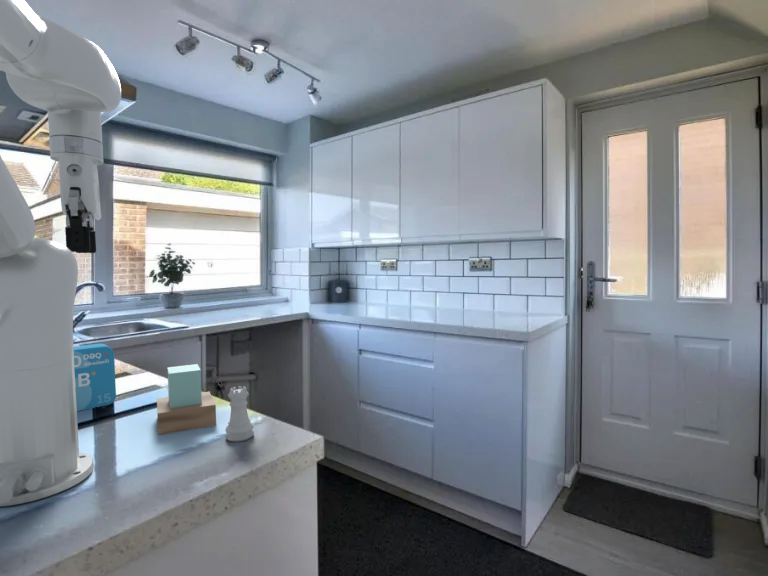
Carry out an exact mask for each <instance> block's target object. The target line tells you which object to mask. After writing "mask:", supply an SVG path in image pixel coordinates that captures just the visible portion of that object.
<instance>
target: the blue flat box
mask: <svg viewBox="0 0 768 576" xmlns="http://www.w3.org/2000/svg"><path fill="white" fill-rule="evenodd" d="M73 349H74V370H75V389H76V407H77V412H80V411H81V410H82V411H85V410H86V409H87V410H91V409H90V408H92V409H96V408H95V407H97V408H101V406H102V407H107V406H110V405H111V404H113V403H114V402H115V400H116V398H117V387H116V367H115V352H114V349H112V347H110V346H108V345H107V344H104V343H94V344H86V345H85V344H84V345H78V346H77V345H76V346H73ZM82 411H81V412H82Z"/></svg>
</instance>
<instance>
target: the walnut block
mask: <svg viewBox="0 0 768 576" xmlns="http://www.w3.org/2000/svg"><path fill="white" fill-rule="evenodd" d="M201 395H202V404H196V405H190V406H183V407H176V408H170V404H169V396H167V397H160V398H156V407H157V408H156V410H157V411H156V414H157V415H156V417H157V431H158V432H157V434H158V436H161V435H167V434H173V433H177V432H184V431H190V430H195V429H202V428H207V427H212V426H214V427H215V426H216V425H217V409H216V408H217V407H216V406H217V405H216V403H215V400H214V399H213V396H212V394H211V391H204V392H203V391H201Z"/></svg>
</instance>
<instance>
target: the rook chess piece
mask: <svg viewBox="0 0 768 576" xmlns="http://www.w3.org/2000/svg"><path fill="white" fill-rule="evenodd" d="M249 394H250V393H249V392H248V391H247V387H246V386H240V385H239V386H238V388H236V386H233V387H231V388H230V389H229V393H228V394H227V397H228V398H229V399H230V403H229V406H230V417H229V421H228V423H227V424H228V425H227V426H226V428H225V429H224V430H225V431H224V432H225V433H226V434H225V436H224V437H225V439H226V440H227V441H229V442H231V443H232V442H233V443H241V442H245V441H247V440H250V439H252V437H253V435H254V434H255V432H254V430H253V429H254V425H253V424H252V422H251V420H250V418H249V413H248V409H247V408H248V407H247V405H248V404H249V402H248V401H247V398H248V397H249Z"/></svg>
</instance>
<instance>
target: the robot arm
mask: <svg viewBox="0 0 768 576" xmlns="http://www.w3.org/2000/svg"><path fill="white" fill-rule="evenodd" d="M0 71H1V72H4V73H5V78H6V81H7V83H8V85H9V87H10V89H11V90H12V91H13V93H14V94H15V95H16V96H17V97H18V98H19V99H20V100H22V101H23V102H24V103H26V104H27V105H30V106H32V107H35V108H37V109H39V110H43V111H45V112H47V117H48V120H47V121H48V122H47V123H48V137H49V139H48V140H49V157H50V160H52V161H55V162H58V177H59V178H58V180H59V181H58V182H59V193H60V195H59V196H60V205H61V211H62V214H63V215H64V216H65V227H64V228H65V229H64V231H65V245H64V244H62V243H61V242H58V241H55V240H51V239H47V238H41V237H35V235H36V221H35V219H34V215H33V213H32V210H31V208H30V206H29V204H28V203H27V200H26V199H25V197H24V195H23V194H22V192H21V190H20V188H19V186H18V184H17V183H16V181H15V180H14V177H13V175H12V174H11V172H10V170H9V168H8V166H7V165H6V163H5V161H4V159H3V158H2V156H1V155H0V507H7V506H8V507H9V506H15V505H22V504H26V503H30V502H34V501H39V500H41V499H45V498H49V497H50V496H53V495H56V494H60V493H62V492H63V491H66V490H69V489H70V488H72V487H74V486H76V485H78V484H79V483H81V482H82V481H84V480H85V479H86V478H87V477H89V476H90V474H92V472H93V471H94V467H95V465H94V458H93V457H92V456H91V455H88V454H86V453H82V452H80V448H79V428H78V427H79V426H78V411H77V407H76V389H75V370H74V349H73V347H74V311H75V310H74V309H75V301H76V300H75V299H76V295H77V294H76V292H77V288H78V287H77V286H78V279H79V269H78V268H79V267H78V261H77V258H76V256H75V254H74V252H75V253H77V254H95V253H97V242H96V241H97V237H96V235H97V234H96V231H95V225H94V219H95V220H96V221H100V220H101V219H102V209H101V208H102V207H101V196H100V195H101V194H100V181H99V174H98V173H99V172H98V166H101V165H103V164H104V149H103V148H104V147H103V133H102V132H103V129H102V126H103V125H102V113H108V112H113V111H114V110H116V109H117V108H118V106H119V105H120V102H121V100H122V88H121V87H122V86H121V82H120V79H119V76H118V74H117V72H116V70H115V67H114V66H113V63H111V61H110V60H109V58H108V57H107V55H106V54H105V53H104V51H103V50H102V49H101V48H100V47H99V46H98V45H97V44H95V43H94V42H93V41H91V40H90V39H88V38H87V37H84V36H82V35H81V34H79V33H77V32H74V31H72V30H70V29H69V28H67V27H65V26H63V25H60V24H59V23H56V22H54V21H53V20H51V19H49V18H47V17H45V16H42V15H40V14H38V13H35V11H34V10H33V9H32V7H31V6H30V5H29V4H28V3H27V2H26V0H0Z"/></svg>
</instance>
